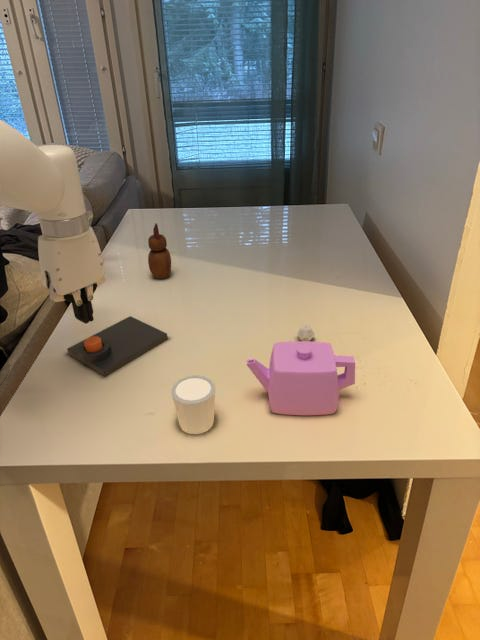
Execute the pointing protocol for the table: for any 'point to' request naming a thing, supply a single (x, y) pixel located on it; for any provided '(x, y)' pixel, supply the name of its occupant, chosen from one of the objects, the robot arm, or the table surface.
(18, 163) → the robot arm
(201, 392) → the beige cup
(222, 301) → the table surface
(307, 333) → the game die
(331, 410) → the teapot
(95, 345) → the button
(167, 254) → the wooden figurine
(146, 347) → the scale
